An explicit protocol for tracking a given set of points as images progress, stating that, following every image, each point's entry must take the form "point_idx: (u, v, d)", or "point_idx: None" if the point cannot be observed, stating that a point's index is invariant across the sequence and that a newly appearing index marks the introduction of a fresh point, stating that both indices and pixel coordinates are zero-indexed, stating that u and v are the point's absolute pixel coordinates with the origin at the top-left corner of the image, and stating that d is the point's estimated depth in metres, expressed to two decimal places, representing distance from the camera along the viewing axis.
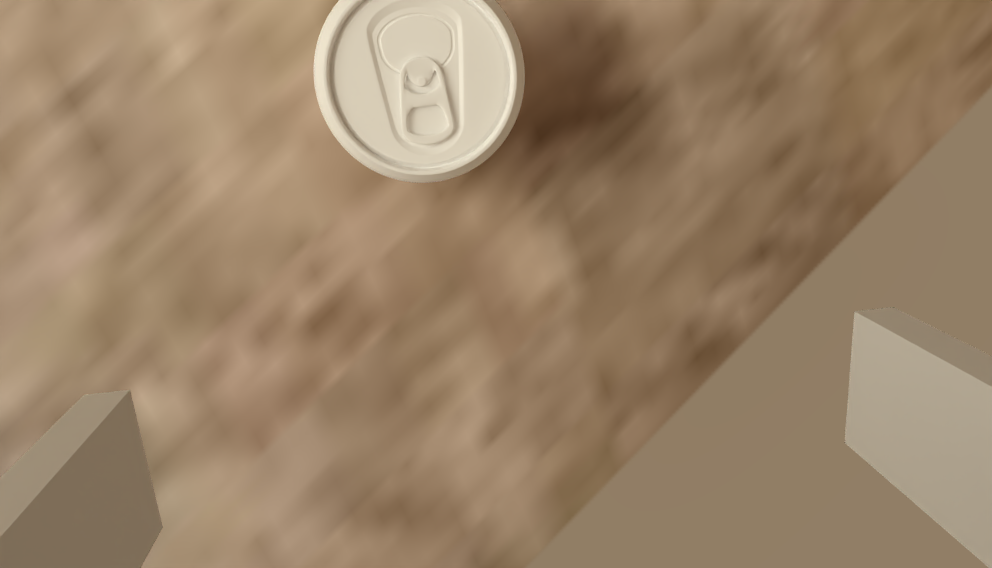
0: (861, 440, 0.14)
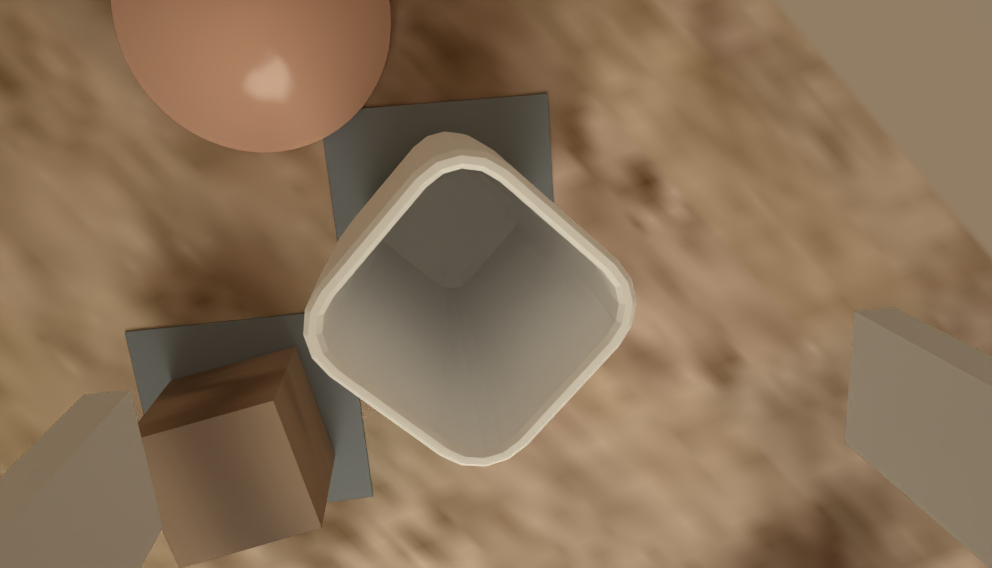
0: (861, 440, 0.14)
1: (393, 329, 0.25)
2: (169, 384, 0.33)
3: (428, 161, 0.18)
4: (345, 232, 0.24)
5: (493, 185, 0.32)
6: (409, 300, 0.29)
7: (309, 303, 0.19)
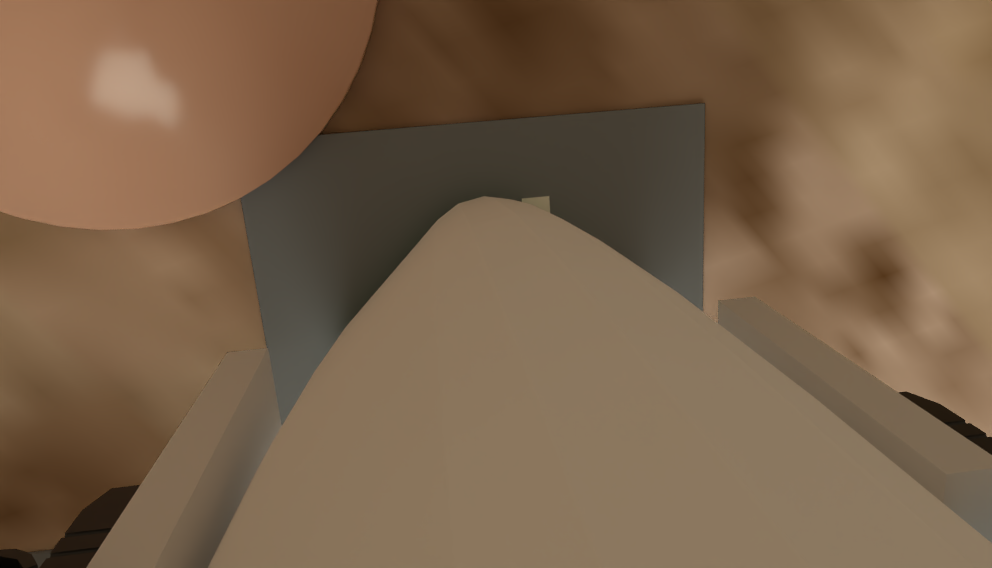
0: None
1: None
2: None
3: None
4: None
5: None
6: None
7: None
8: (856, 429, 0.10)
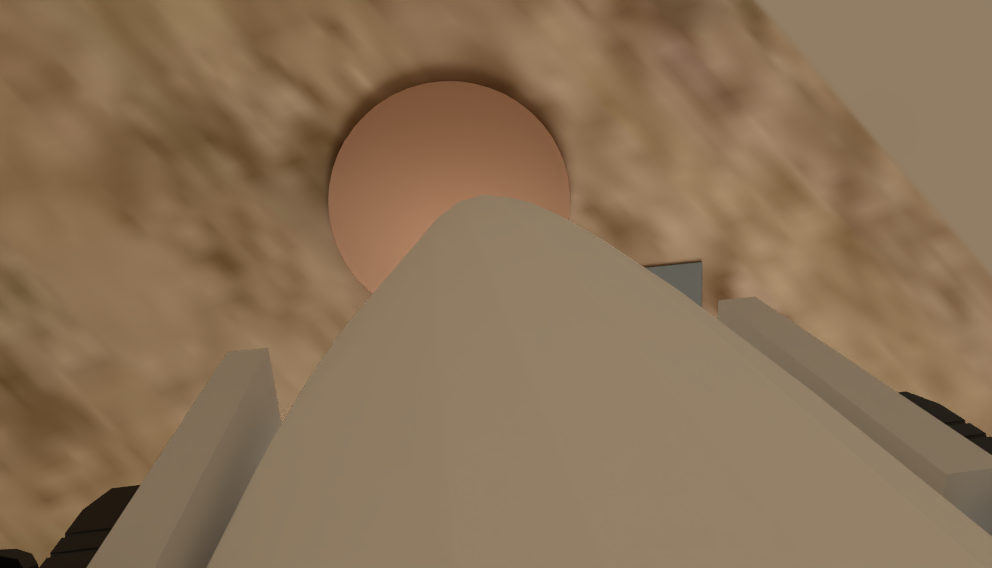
0: None
1: None
2: None
3: None
4: None
5: None
6: None
7: None
8: None
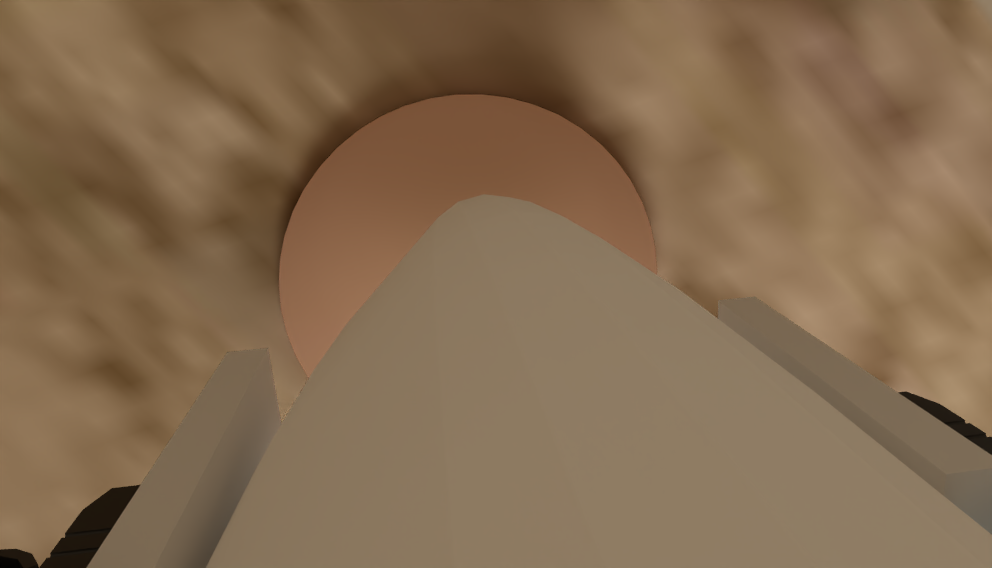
0: None
1: None
2: None
3: None
4: None
5: None
6: None
7: None
8: None
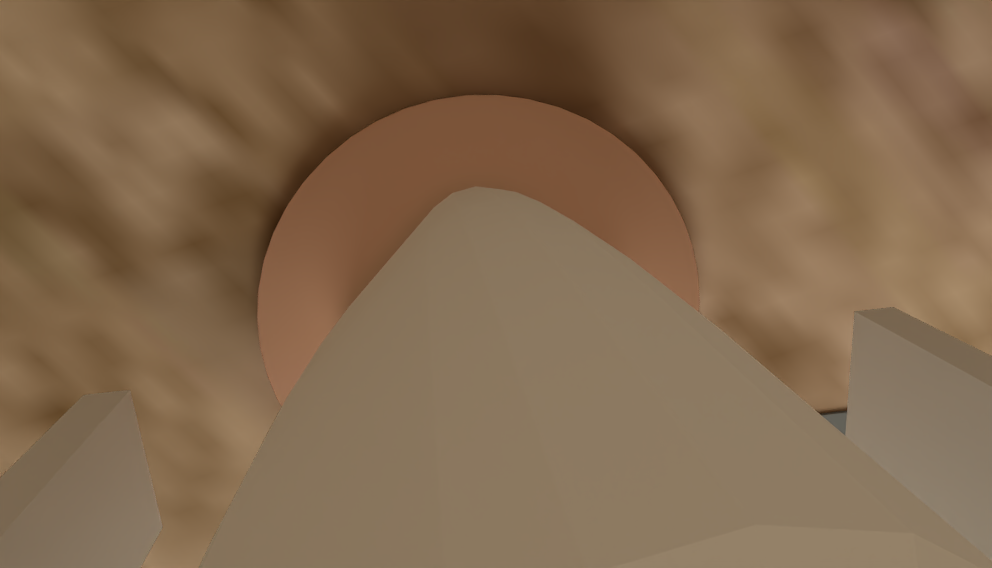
0: (861, 440, 0.14)
1: None
2: None
3: None
4: (241, 504, 0.08)
5: None
6: None
7: None
8: None
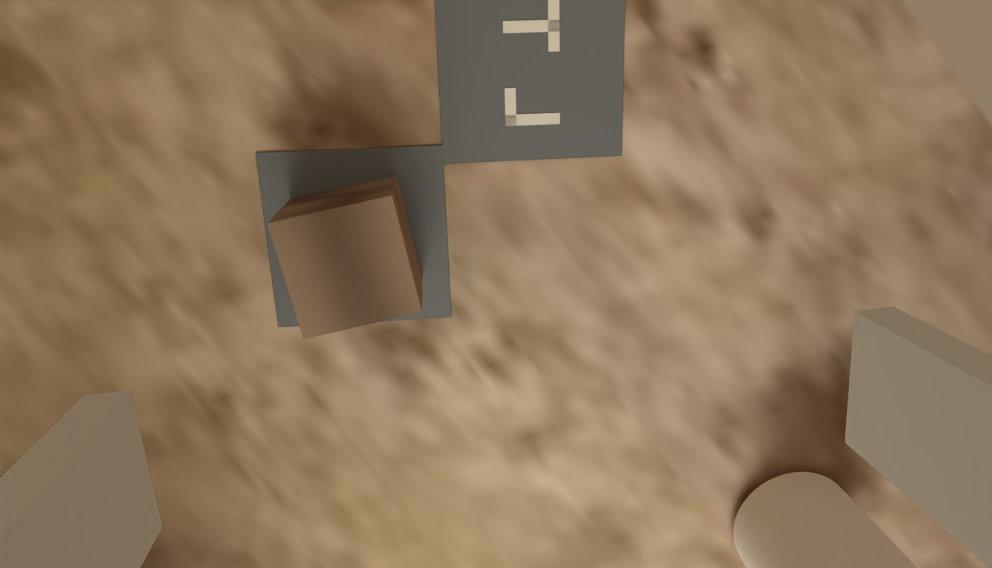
0: (861, 440, 0.14)
1: None
2: (290, 200, 0.39)
3: None
4: None
5: None
6: None
7: None
8: None
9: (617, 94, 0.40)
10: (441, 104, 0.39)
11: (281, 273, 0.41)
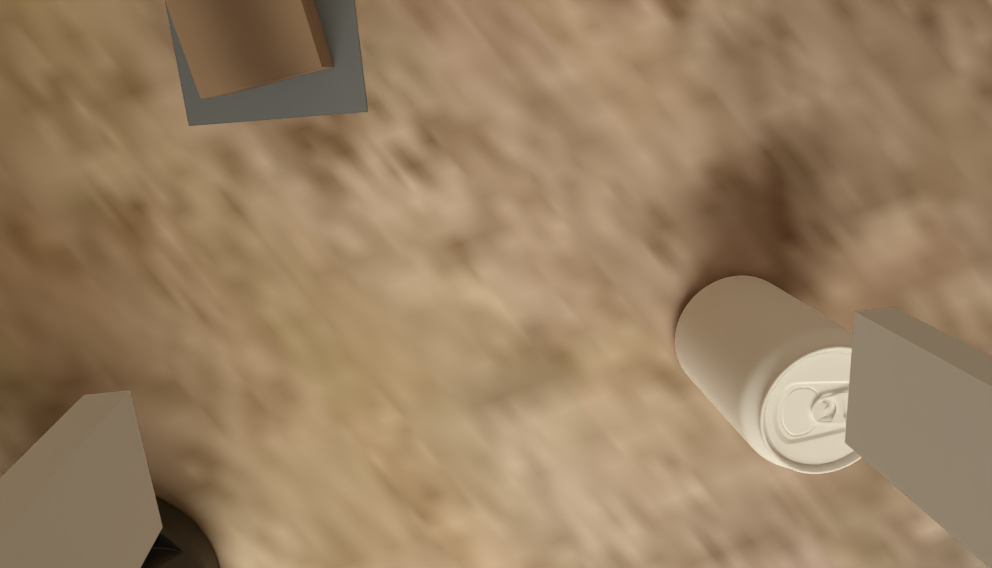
0: (861, 440, 0.14)
1: None
2: None
3: None
4: None
5: None
6: None
7: None
8: None
9: None
10: None
11: (188, 65, 0.40)
